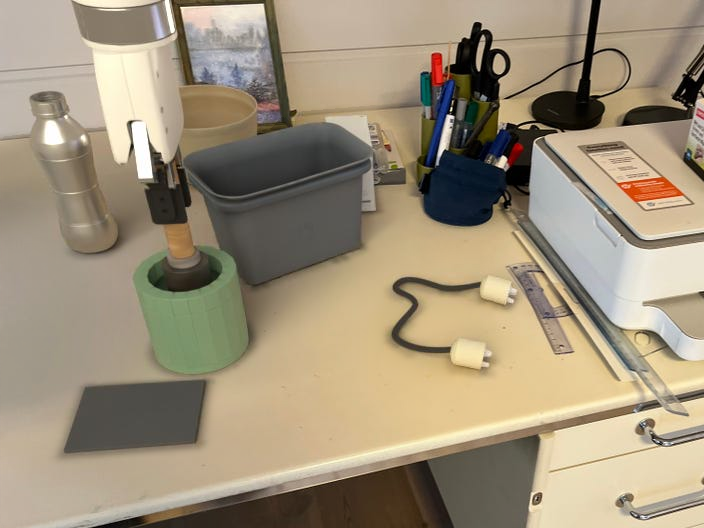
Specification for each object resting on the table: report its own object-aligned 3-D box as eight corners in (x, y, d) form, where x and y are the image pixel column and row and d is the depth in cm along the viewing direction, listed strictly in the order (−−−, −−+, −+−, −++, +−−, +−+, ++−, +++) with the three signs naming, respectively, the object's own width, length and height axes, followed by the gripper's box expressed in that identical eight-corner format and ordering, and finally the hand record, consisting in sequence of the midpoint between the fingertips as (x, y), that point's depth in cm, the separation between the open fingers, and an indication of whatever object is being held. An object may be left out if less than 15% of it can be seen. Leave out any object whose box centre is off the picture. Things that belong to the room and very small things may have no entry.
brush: (168, 313, 79) (131, 173, 69) (174, 288, 83) (139, 151, 72) (214, 310, 80) (183, 172, 70) (218, 286, 83) (189, 150, 73)
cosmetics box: (328, 179, 117) (323, 114, 110) (370, 178, 118) (368, 113, 111) (331, 213, 109) (326, 145, 102) (376, 211, 110) (374, 144, 103)
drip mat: (64, 453, 72) (63, 450, 72) (86, 389, 79) (84, 387, 78) (195, 443, 74) (194, 440, 74) (205, 382, 81) (204, 379, 80)
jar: (147, 377, 81) (124, 302, 74) (162, 319, 88) (142, 246, 82) (245, 371, 82) (231, 297, 76) (251, 315, 90) (239, 243, 83)
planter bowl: (179, 209, 107) (163, 137, 100) (142, 164, 117) (125, 95, 110) (283, 183, 115) (275, 114, 108) (241, 143, 125) (231, 77, 118)
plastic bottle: (111, 260, 97) (65, 109, 84) (58, 258, 97) (3, 106, 84) (129, 234, 102) (87, 87, 89) (78, 232, 101) (29, 84, 88)
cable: (357, 352, 86) (355, 328, 84) (401, 276, 98) (400, 253, 96) (489, 379, 84) (491, 355, 81) (517, 297, 96) (520, 275, 94)
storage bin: (239, 306, 91) (220, 200, 82) (187, 249, 100) (164, 147, 91) (386, 253, 102) (384, 154, 93) (328, 205, 111) (320, 111, 101)
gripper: (99, -9, 68) (147, 177, 80) (53, 52, 56) (117, 260, 68) (186, -8, 69) (220, 175, 81) (159, 52, 57) (203, 257, 69)
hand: (173, 213), depth 74 cm, fingers closed on brush, 2 cm apart
